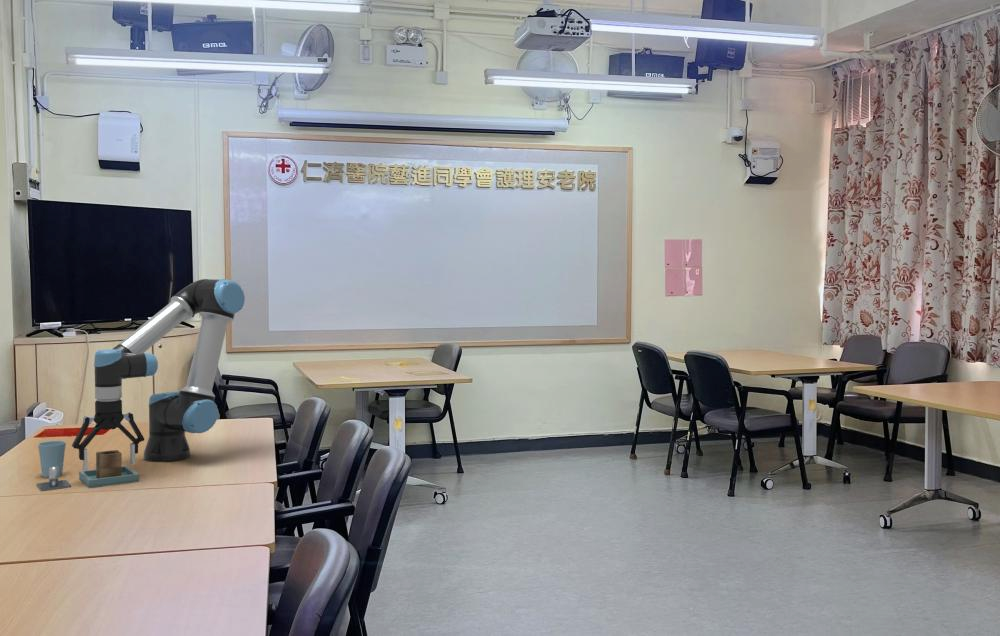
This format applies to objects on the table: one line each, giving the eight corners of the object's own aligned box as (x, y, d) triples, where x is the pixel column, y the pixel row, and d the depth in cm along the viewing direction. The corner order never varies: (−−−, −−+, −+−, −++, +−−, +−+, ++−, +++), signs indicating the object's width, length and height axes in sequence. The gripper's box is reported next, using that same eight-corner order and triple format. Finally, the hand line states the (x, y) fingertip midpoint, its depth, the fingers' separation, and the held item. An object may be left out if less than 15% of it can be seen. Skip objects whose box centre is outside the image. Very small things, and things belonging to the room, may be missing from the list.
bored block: (116, 474, 254) (116, 449, 254) (121, 478, 250) (121, 453, 249) (96, 477, 251) (96, 452, 250) (100, 481, 246) (100, 455, 246)
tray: (127, 472, 260) (127, 465, 260) (138, 481, 249) (138, 474, 249) (79, 478, 251) (79, 471, 251) (88, 488, 240) (88, 480, 240)
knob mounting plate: (66, 481, 247) (66, 463, 247) (71, 487, 241) (71, 468, 241) (36, 485, 242) (36, 466, 242) (40, 491, 236) (40, 471, 236)
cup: (65, 477, 253) (64, 444, 252) (37, 479, 250) (36, 446, 249) (67, 472, 260) (66, 440, 259) (39, 474, 256) (39, 441, 256)
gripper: (147, 394, 260) (148, 459, 261) (61, 401, 244) (62, 470, 245) (154, 397, 254) (154, 464, 255) (65, 404, 238) (66, 475, 239)
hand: (109, 467), depth 250 cm, fingers open, 13 cm apart
